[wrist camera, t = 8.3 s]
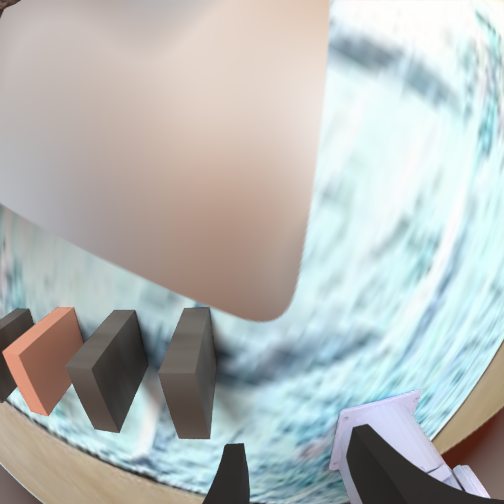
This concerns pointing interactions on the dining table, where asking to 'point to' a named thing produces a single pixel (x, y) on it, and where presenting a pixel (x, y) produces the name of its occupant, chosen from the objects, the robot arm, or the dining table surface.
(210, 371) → the tile
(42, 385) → the tile
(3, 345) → the tile
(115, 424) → the tile
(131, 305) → the dining table surface
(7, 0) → the jug
